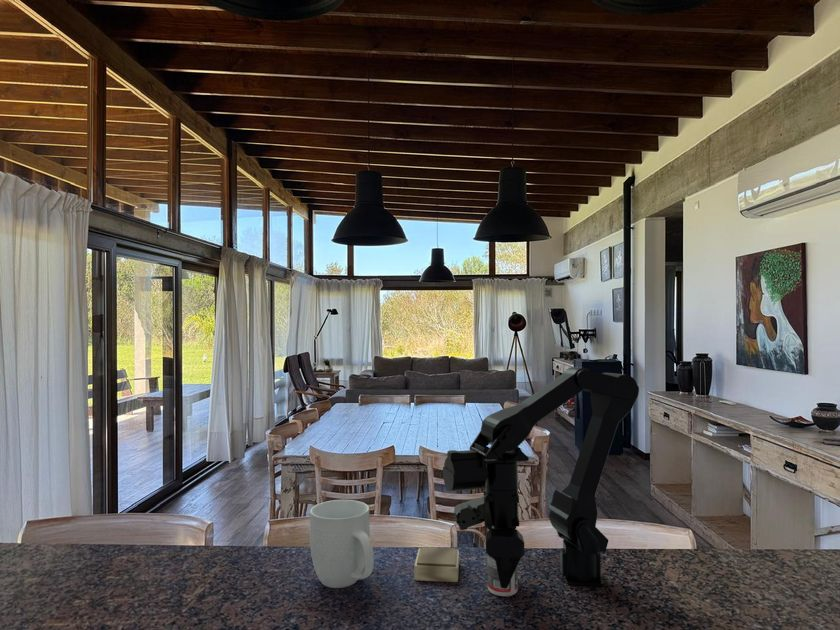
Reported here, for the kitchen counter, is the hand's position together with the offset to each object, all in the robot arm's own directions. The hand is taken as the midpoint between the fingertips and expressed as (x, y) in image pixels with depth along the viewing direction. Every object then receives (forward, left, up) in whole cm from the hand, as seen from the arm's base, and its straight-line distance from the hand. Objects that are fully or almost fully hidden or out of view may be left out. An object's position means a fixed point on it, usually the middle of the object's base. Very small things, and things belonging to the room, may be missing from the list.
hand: (502, 575), depth 91 cm
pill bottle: (0, 0, -3) cm, 3 cm away
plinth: (+12, -6, -2) cm, 14 cm away
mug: (+29, 0, -3) cm, 29 cm away
